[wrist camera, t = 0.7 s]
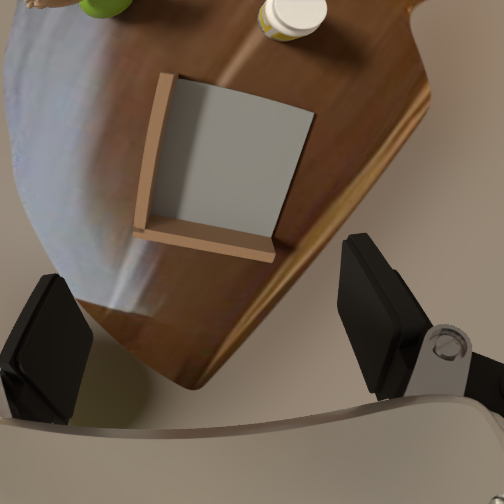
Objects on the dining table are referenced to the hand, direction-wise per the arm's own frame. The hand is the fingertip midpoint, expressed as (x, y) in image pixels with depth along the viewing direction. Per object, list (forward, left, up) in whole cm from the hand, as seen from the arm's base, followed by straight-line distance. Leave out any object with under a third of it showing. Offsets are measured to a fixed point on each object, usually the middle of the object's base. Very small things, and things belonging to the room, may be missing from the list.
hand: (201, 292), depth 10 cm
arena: (+4, +2, -25) cm, 25 cm away
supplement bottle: (-13, +3, -25) cm, 29 cm away
